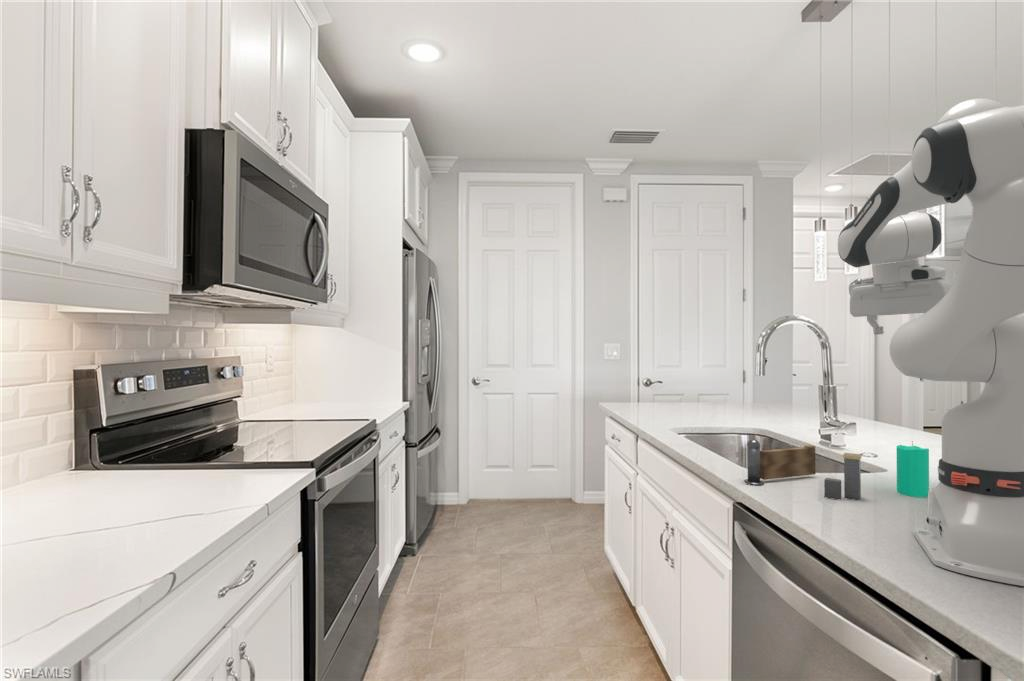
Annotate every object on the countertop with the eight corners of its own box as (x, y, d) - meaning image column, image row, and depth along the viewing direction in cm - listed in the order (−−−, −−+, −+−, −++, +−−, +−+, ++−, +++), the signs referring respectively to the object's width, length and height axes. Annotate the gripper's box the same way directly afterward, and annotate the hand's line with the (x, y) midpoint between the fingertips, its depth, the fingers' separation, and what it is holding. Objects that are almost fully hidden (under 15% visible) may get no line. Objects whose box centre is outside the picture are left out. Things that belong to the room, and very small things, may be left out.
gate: (764, 479, 130) (764, 450, 130) (759, 478, 132) (759, 449, 132) (815, 474, 135) (815, 446, 135) (810, 472, 136) (810, 445, 136)
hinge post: (761, 486, 127) (761, 441, 127) (742, 483, 130) (741, 439, 130) (765, 482, 131) (765, 438, 130) (746, 479, 133) (746, 437, 133)
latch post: (859, 502, 114) (859, 458, 114) (824, 497, 118) (824, 454, 118) (861, 497, 118) (861, 454, 118) (827, 492, 122) (827, 450, 122)
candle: (934, 498, 117) (933, 444, 117) (902, 496, 119) (901, 442, 119) (922, 490, 122) (922, 439, 122) (892, 488, 124) (892, 437, 124)
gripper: (841, 281, 131) (847, 336, 131) (943, 269, 113) (948, 333, 114) (854, 279, 134) (859, 333, 135) (954, 267, 117) (960, 329, 118)
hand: (901, 333), depth 124 cm, fingers open, 8 cm apart
